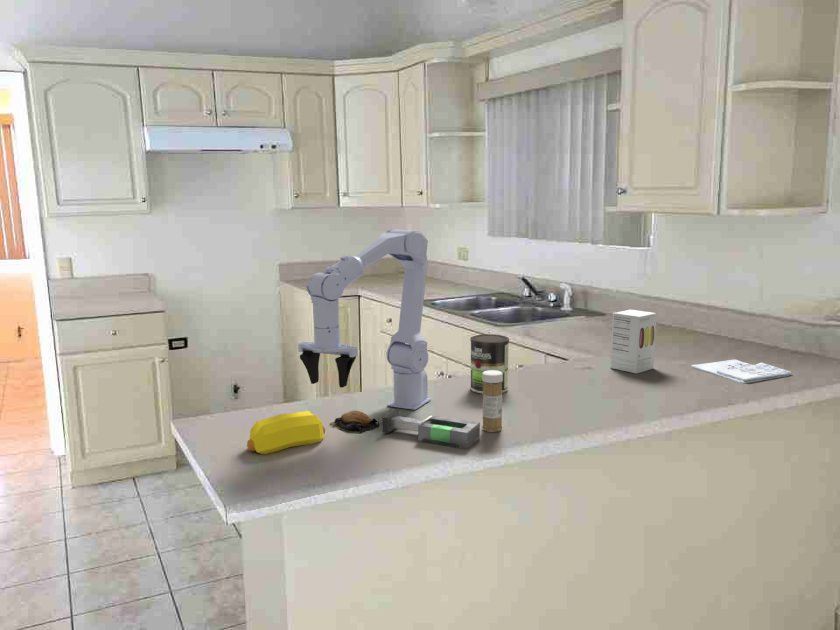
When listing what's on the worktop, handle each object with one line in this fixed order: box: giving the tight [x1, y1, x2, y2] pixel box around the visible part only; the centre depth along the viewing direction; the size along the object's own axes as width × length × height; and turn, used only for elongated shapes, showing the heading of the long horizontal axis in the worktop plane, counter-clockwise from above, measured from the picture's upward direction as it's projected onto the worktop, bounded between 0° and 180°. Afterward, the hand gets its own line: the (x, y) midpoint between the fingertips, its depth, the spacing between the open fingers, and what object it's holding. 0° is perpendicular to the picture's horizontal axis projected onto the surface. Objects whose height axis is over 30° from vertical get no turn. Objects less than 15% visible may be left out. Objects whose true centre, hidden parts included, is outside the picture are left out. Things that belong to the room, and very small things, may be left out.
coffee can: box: [470, 333, 510, 395], centre depth 196 cm, size 10×10×14 cm
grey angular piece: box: [381, 409, 434, 435], centre depth 164 cm, size 6×10×4 cm, turn 64°
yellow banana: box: [246, 410, 326, 455], centre depth 157 cm, size 18×7×8 cm
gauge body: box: [417, 415, 481, 450], centre depth 159 cm, size 7×12×4 cm, turn 64°
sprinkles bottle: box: [481, 370, 503, 433], centre depth 165 cm, size 5×5×13 cm
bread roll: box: [329, 410, 380, 434], centre depth 170 cm, size 11×8×4 cm
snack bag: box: [690, 359, 793, 385], centre depth 212 cm, size 19×20×2 cm
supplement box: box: [609, 309, 657, 375], centre depth 215 cm, size 10×9×17 cm
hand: (328, 384), depth 167 cm, fingers open, 7 cm apart
